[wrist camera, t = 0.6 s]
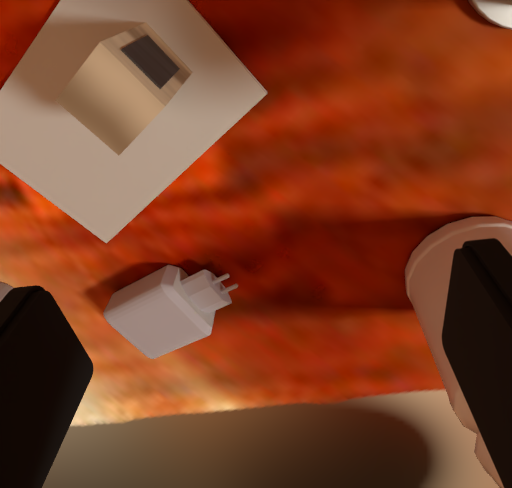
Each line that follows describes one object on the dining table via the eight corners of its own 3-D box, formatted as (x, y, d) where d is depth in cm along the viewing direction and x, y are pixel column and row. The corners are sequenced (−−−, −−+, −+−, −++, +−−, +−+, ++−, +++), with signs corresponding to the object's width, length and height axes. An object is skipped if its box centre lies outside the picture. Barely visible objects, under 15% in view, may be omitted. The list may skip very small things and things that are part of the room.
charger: (256, 292, 48) (162, 334, 54) (212, 238, 44) (114, 289, 49) (254, 320, 45) (153, 362, 50) (205, 264, 40) (100, 317, 45)
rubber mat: (118, -81, 28) (115, -82, 28) (267, 91, 35) (267, 93, 34) (-29, 137, 38) (-33, 139, 38) (108, 240, 45) (106, 243, 44)
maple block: (147, 20, 31) (101, 40, 23) (194, 70, 33) (166, 104, 25) (109, 67, 34) (55, 100, 25) (155, 112, 36) (118, 155, 27)
